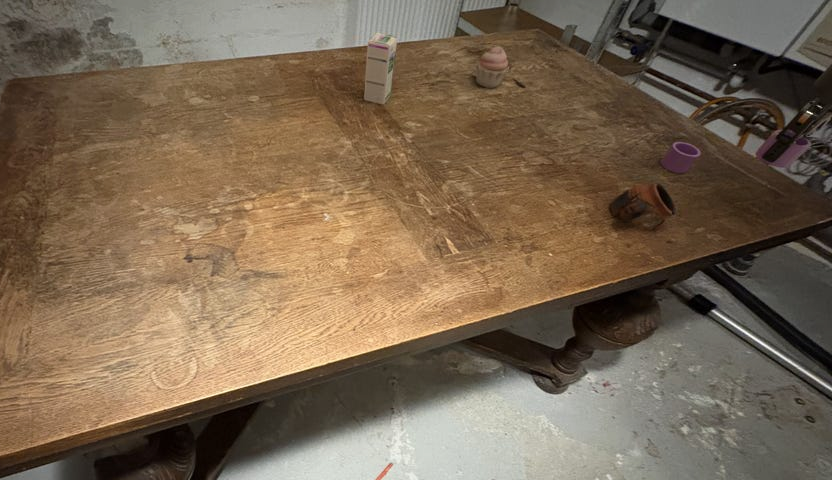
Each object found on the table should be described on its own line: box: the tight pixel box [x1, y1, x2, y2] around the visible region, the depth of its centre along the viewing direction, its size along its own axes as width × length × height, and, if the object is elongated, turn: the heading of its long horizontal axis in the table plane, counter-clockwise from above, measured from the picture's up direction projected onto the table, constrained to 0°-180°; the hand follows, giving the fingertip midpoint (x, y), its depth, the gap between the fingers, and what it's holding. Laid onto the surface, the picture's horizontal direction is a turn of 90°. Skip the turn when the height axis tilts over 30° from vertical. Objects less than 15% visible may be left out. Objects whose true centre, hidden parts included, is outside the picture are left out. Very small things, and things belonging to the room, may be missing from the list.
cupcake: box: [475, 45, 510, 89], centre depth 113 cm, size 9×9×10 cm
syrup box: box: [363, 32, 398, 106], centre depth 102 cm, size 6×6×14 cm
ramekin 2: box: [754, 129, 812, 169], centre depth 77 cm, size 6×6×4 cm
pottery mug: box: [610, 181, 677, 230], centre depth 80 cm, size 12×9×8 cm
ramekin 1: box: [659, 141, 702, 174], centre depth 94 cm, size 6×6×4 cm
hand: (775, 155), depth 79 cm, fingers closed on ramekin 2, 6 cm apart
